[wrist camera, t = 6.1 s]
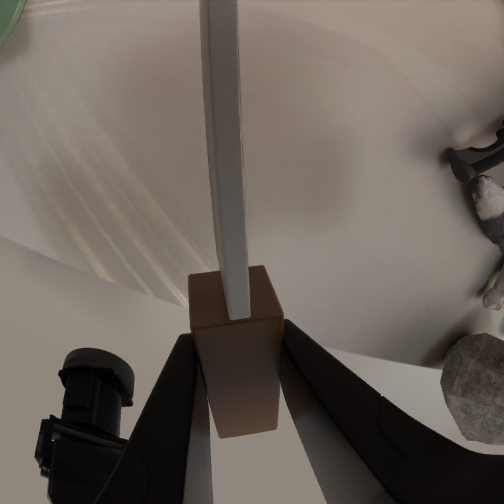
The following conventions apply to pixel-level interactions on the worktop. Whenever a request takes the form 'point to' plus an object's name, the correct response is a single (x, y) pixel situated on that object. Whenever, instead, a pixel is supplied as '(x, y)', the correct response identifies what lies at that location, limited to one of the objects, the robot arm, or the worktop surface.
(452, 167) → the knife
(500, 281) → the figurine
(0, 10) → the cake stand
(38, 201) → the worktop surface
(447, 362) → the rock
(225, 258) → the cake knife
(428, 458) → the robot arm
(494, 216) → the bird model
